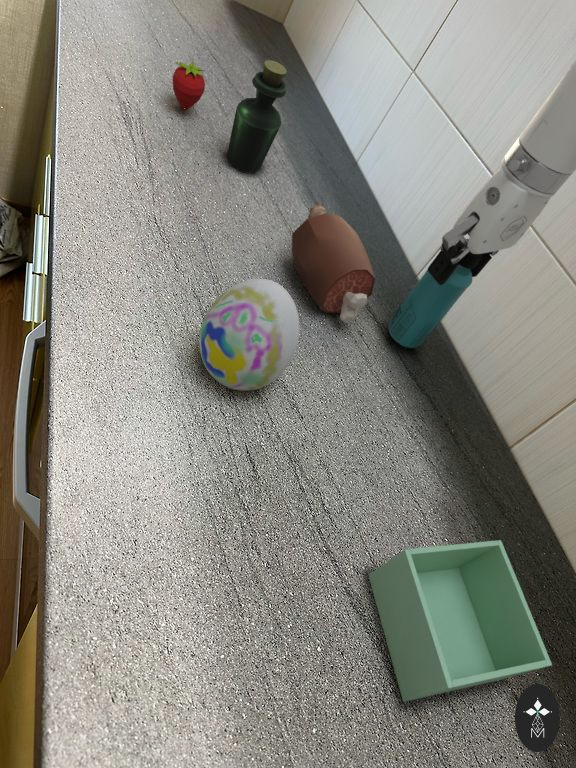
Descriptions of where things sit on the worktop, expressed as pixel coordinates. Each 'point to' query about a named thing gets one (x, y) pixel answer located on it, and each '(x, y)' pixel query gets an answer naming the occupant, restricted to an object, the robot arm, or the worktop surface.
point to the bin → (455, 618)
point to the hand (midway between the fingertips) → (452, 272)
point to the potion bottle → (257, 120)
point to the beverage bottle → (430, 302)
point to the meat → (332, 264)
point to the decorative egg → (250, 335)
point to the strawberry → (188, 85)
